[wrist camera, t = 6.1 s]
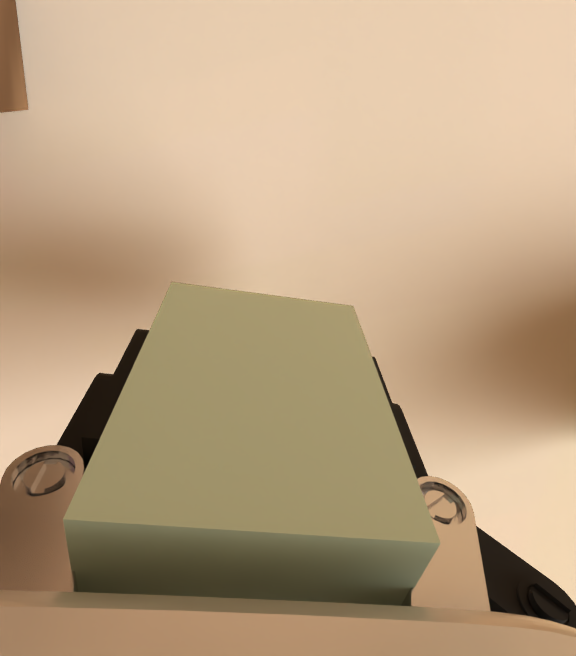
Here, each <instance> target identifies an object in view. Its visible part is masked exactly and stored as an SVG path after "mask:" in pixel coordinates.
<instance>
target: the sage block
mask: <svg viewBox="0 0 576 656" xmlns="http://www.w3.org/2000/svg"><path fill="white" fill-rule="evenodd" d="M63 523H64V529H65V535H66V541H67V547H68V553H69V560H70V566H71V571H75V574H76V581H77V587H78V592H89V593H116V594H142V595H169V596H194V597H218V598H242V599H265V600H287V601H310V602H332V603H353V604H373V605H394V606H401V604H402V602H403V601H404V599H405V597H406V595H407V594H408V592H409V590H410V589H411V588H415V586H416V584H417V583H418V581H419V579H420V578H421V576H422V574H423V572H424V571H425V569H426V567H427V566H428V564H429V562H430V561H431V559H432V557H433V556H434V554H435V552H436V550H437V549H438V547H439V545H440V544H441V543H440V540H439V537H438V535H437V532H436V529H435V526H434V524H433V521H432V518H431V516H430V513H429V510H428V507H427V505H426V502H425V499H424V497H423V494H422V491H421V489H420V486H419V483H418V480H417V478H416V475H415V472H414V470H413V467H412V464H411V461H410V459H409V456H408V453H407V451H406V448H405V445H404V442H403V440H402V437H401V434H400V432H399V429H398V426H397V424H396V421H395V418H394V415H393V413H392V410H391V407H390V405H389V402H388V399H387V396H386V394H385V391H384V388H383V386H382V383H381V380H380V378H379V375H378V372H377V369H376V367H375V364H374V361H373V359H372V356H371V353H370V350H369V348H368V345H367V342H366V340H365V337H364V334H363V331H362V329H361V326H360V323H359V321H358V318H357V315H356V313H355V310H354V307H353V306H349V305H342V304H334V303H327V302H319V301H312V300H304V299H297V298H289V297H282V296H274V295H266V294H259V293H251V292H244V291H236V290H229V289H221V288H214V287H206V286H199V285H191V284H184V283H176V282H172V283H171V285H170V287H169V289H168V291H167V293H166V296H165V298H164V300H163V302H162V304H161V307H160V309H159V311H158V313H157V315H156V317H155V320H154V322H153V324H152V326H151V328H150V331H149V333H148V335H147V337H146V339H145V341H144V344H143V346H142V348H141V350H140V352H139V354H138V357H137V359H136V361H135V363H134V365H133V368H132V370H131V372H130V374H129V376H128V378H127V381H126V383H125V385H124V387H123V389H122V392H121V394H120V396H119V398H118V400H117V402H116V405H115V407H114V409H113V411H112V413H111V416H110V418H109V420H108V422H107V424H106V426H105V429H104V431H103V433H102V435H101V437H100V440H99V442H98V444H97V446H96V448H95V450H94V453H93V455H92V457H91V459H90V461H89V464H88V466H87V468H86V470H85V472H84V474H83V477H82V479H81V481H80V483H79V485H78V488H77V490H76V492H75V494H74V496H73V498H72V501H71V503H70V505H69V507H68V509H67V512H66V514H65V516H64V518H63Z"/></svg>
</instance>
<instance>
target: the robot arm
mask: <svg viewBox="0 0 576 656" xmlns="http://www.w3.org/2000/svg"><path fill="white" fill-rule="evenodd" d="M149 331H150V330H141V329H137V330H136V331H135V333H134V335H133V337H132V339H131V341H130V343H129V345H128V347H127V349H126V351H125V353H124V355H123V357H122V359H121V361H120V363H119V365H118V367H117V368H116V370H115V372H114V374H104V373H99V374H97V375H96V377H95V378H94V380H93V382H92V383H91V385H90V387H89V389H88V391H87V392H86V394H85V396H84V398H83V399H82V401H81V403H80V405H79V406H78V408H77V410H76V412H75V413H74V415H73V417H72V419H71V421H70V422H69V424H68V426H67V428H66V429H65V431H64V433H63V435H62V436H61V438H60V440H59V442H58V443H57V445H49V446H44V447H39V448H36V449H33V450H31V451H28V452H26V453H24V454H23V455H21V456H20V457H18V458H17V459H15V460H14V461H13V462H12V463H11V464H10V465H9V466H8V467H7V469H6V471H5V473H4V475H3V477H2V480H1V483H0V656H576V605H575V603H574V602H573V601H572V600H571V598H570V597H569V596H568V595H567V594H566V593H565V591H563V590H562V589H561V588H560V587H559V586H558V585H556V584H555V583H554V582H553V581H551V580H550V579H549V578H547V577H546V576H545V575H543V574H542V573H540V572H539V571H538V570H536V569H535V568H534V567H532V566H531V565H529V564H528V563H527V562H525V561H524V560H522V559H521V558H520V557H518V556H517V555H516V554H514V553H513V552H511V551H510V550H509V549H507V548H506V547H505V546H503V545H502V544H500V543H499V542H498V541H496V540H495V539H494V538H492V537H491V536H489V535H488V534H487V533H485V532H484V531H482V530H481V529H480V528H478V527H477V526H476V523H475V517H474V512H473V509H472V506H471V503H470V502H469V500H468V499H467V497H466V496H465V495H464V494H463V493H462V492H461V491H460V490H459V489H458V488H457V487H456V486H454V485H453V484H451V483H450V482H448V481H446V480H443V479H441V478H438V477H432V476H428V474H427V472H426V469H425V467H424V464H423V462H422V459H421V457H420V454H419V452H418V449H417V447H416V444H415V442H414V439H413V437H412V434H411V432H410V429H409V427H408V424H407V422H406V419H405V417H404V414H403V412H402V409H401V408H400V406H399V405H398V404H393V403H392V401H391V399H390V396H389V393H388V391H387V388H386V385H385V383H384V380H383V377H382V375H381V372H380V369H379V367H378V364H377V362H376V359H375V357H372V359H373V361H374V364H375V367H376V369H377V372H378V375H379V378H380V380H381V383H382V386H383V388H384V391H385V394H386V396H387V399H388V402H389V405H390V407H391V410H392V413H393V415H394V418H395V421H396V424H397V426H398V429H399V432H400V434H401V437H402V440H403V442H404V445H405V448H406V451H407V453H408V456H409V459H410V461H411V464H412V467H413V470H414V472H415V475H416V478H417V480H418V483H419V486H420V489H421V491H422V494H423V497H424V499H425V502H426V505H427V507H428V510H429V513H430V516H431V518H432V521H433V524H434V526H435V529H436V532H437V535H438V537H439V540H440V543H441V544H440V545H439V547H438V549H437V550H436V552H435V554H434V556H433V557H432V559H431V561H430V562H429V564H428V566H427V567H426V569H425V571H424V572H423V574H422V576H421V578H420V579H419V581H418V583H417V584H416V586H415V588H411V589H410V590H409V592H408V594H407V595H406V597H405V599H404V601H403V602H402V604H401V606H394V605H373V604H353V603H332V602H310V601H287V600H265V599H242V598H218V597H194V596H169V595H142V594H116V593H89V592H78V587H77V581H76V574H75V571H71V566H70V560H69V553H68V547H67V541H66V535H65V529H64V523H63V518H64V516H65V514H66V512H67V509H68V507H69V505H70V503H71V501H72V498H73V496H74V494H75V492H76V490H77V488H78V485H79V483H80V481H81V479H82V477H83V474H84V472H85V470H86V468H87V466H88V464H89V461H90V459H91V457H92V455H93V453H94V450H95V448H96V446H97V444H98V442H99V440H100V437H101V435H102V433H103V431H104V429H105V426H106V424H107V422H108V420H109V418H110V416H111V413H112V411H113V409H114V407H115V405H116V402H117V400H118V398H119V396H120V394H121V392H122V389H123V387H124V385H125V383H126V381H127V378H128V376H129V374H130V372H131V370H132V368H133V365H134V363H135V361H136V359H137V357H138V354H139V352H140V350H141V348H142V346H143V344H144V341H145V339H146V337H147V335H148V333H149Z"/></svg>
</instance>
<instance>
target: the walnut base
mask: <svg viewBox="0 0 576 656" xmlns="http://www.w3.org/2000/svg"><path fill="white" fill-rule="evenodd" d="M19 110H28V103H27V94H26V86H25V78H24V69H23V61H22V52H21V44H20V36H19V27H18V19H17V11H16V2H15V0H0V112H9V111H19Z"/></svg>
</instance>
